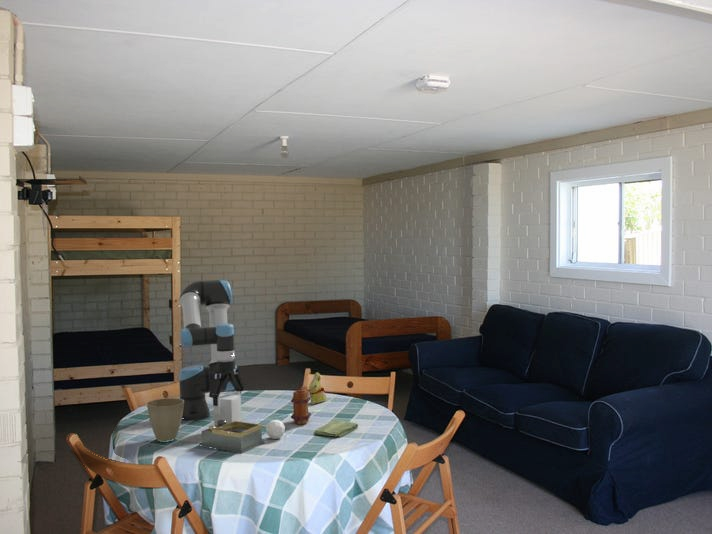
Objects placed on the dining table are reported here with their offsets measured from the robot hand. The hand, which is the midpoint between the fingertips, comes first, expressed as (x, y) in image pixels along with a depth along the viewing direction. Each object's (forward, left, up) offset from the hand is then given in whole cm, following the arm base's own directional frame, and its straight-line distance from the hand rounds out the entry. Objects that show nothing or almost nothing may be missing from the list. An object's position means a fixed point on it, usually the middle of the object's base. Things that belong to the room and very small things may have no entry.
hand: (227, 409), depth 292 cm
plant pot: (-15, -21, -10) cm, 27 cm away
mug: (+21, +26, -10) cm, 35 cm away
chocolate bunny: (+9, +58, -10) cm, 60 cm away
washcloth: (+43, +19, -10) cm, 48 cm away
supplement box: (0, 0, -10) cm, 10 cm away
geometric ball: (+25, 0, -10) cm, 27 cm away
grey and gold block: (+14, -14, -9) cm, 22 cm away
